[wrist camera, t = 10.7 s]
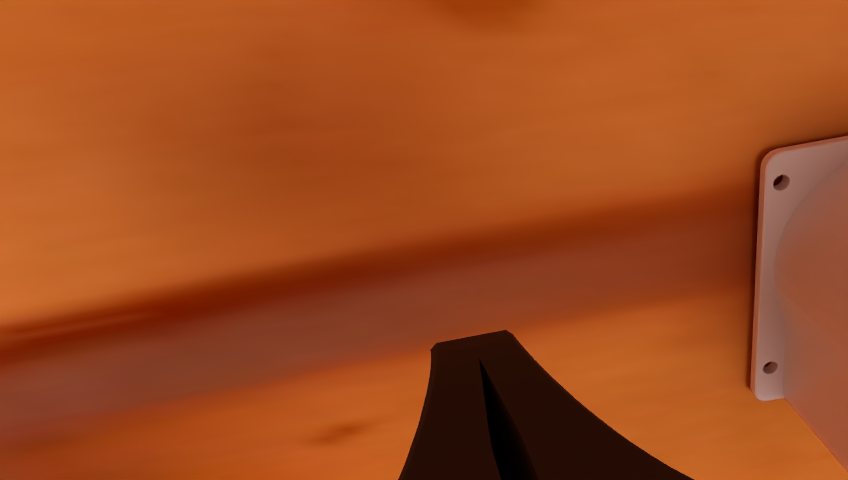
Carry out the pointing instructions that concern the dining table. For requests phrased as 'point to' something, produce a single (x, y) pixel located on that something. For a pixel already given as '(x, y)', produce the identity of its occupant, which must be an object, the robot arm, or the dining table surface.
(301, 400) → the dining table surface
